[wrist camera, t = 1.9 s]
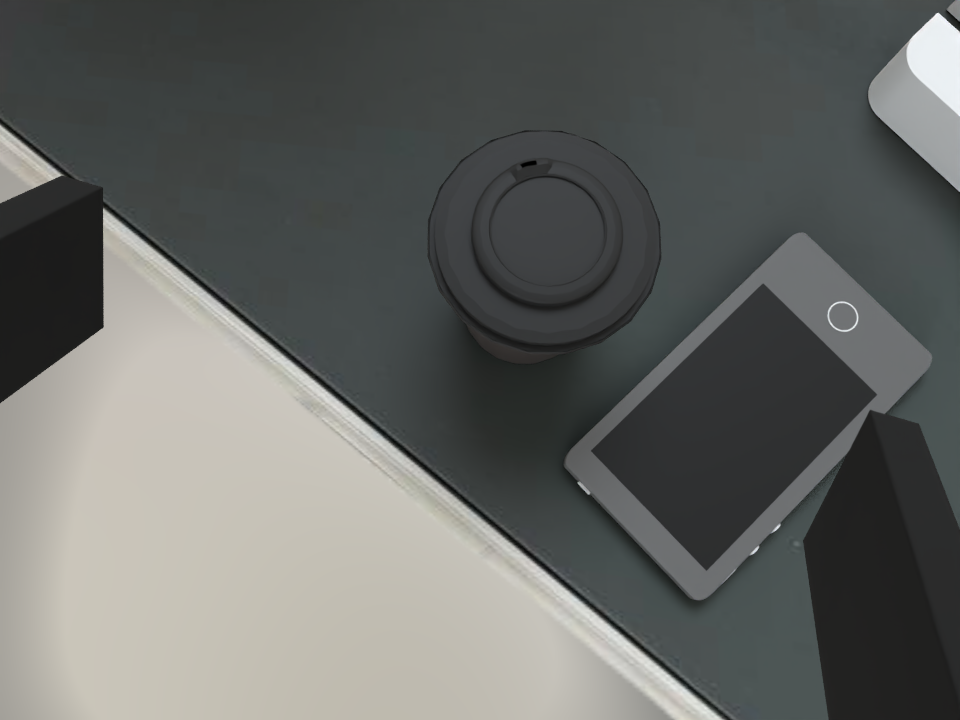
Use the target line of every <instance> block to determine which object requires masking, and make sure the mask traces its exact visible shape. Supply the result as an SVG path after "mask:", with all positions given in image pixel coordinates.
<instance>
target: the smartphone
mask: <svg viewBox="0 0 960 720" xmlns="http://www.w3.org/2000/svg"><path fill="white" fill-rule="evenodd" d="M931 362H932V355H931V353H930V352H929V351H928V350H927V349H926V348H925V347H923V346H922V345H921V344H920V343H919V342H918V341H917V340H916V339H915V338H914V337H913V336H912V335H911V334H910V333H909V332H908V331H907V330H906V329H905V328H904V327H903V326H902V325H901V324H899V323H898V322H897V321H896V320H895V319H894V318H893V317H892V316H891V315H890V314H889V313H888V312H887V311H886V310H885V309H884V308H883V307H882V306H881V305H880V304H879V303H878V302H877V301H875V300H874V299H873V298H872V297H871V296H870V295H869V294H868V293H867V292H866V291H865V290H864V289H863V288H862V287H861V286H860V285H859V284H858V283H857V282H856V281H855V280H854V279H853V278H852V277H850V276H849V275H848V274H847V273H846V272H845V271H844V270H843V269H842V268H841V267H840V266H839V265H838V264H837V263H836V262H835V261H834V260H833V259H832V258H831V257H830V256H829V255H828V254H826V253H825V252H824V251H823V250H822V249H821V248H820V247H819V246H818V245H817V244H816V243H815V242H814V241H813V240H812V239H811V238H810V237H809V236H808V235H807V234H805V233H797V234H795V235H793V236H791V237H790V238H789V239H788V240H787V241H786V242H784V243H783V244H782V245H781V246H780V247H779V248H778V249H777V250H776V251H775V252H774V253H773V254H772V255H771V256H770V257H769V258H768V259H767V260H766V261H765V262H764V263H763V264H762V265H760V266H759V267H758V268H757V269H756V270H755V271H754V272H753V273H752V274H751V275H750V276H749V277H748V278H747V279H746V280H745V281H744V282H743V283H742V284H741V285H740V286H739V287H738V288H737V289H736V290H735V291H734V292H733V293H732V294H731V295H729V296H728V297H727V298H726V299H725V300H724V301H723V302H722V303H721V304H720V305H719V306H718V307H717V308H716V309H715V310H714V311H713V312H712V313H711V314H710V315H709V316H708V317H707V318H706V319H705V320H704V321H703V322H702V323H701V324H699V325H698V326H697V327H696V328H695V329H694V330H693V331H692V332H691V333H690V334H689V335H688V336H687V337H686V338H685V339H684V340H683V341H682V342H681V343H680V344H679V345H678V346H677V347H676V348H675V349H674V350H673V351H672V352H671V353H670V354H668V355H667V356H666V357H665V358H664V359H663V360H662V361H661V362H660V363H659V364H658V365H657V366H656V367H655V368H654V369H653V370H652V371H651V372H650V373H649V374H648V375H647V376H646V377H645V378H644V379H643V380H642V381H641V382H640V383H639V384H637V385H636V386H635V387H634V388H633V389H632V390H631V391H630V392H629V393H628V394H627V395H626V396H625V397H624V398H623V399H622V400H621V401H620V402H619V403H618V404H617V405H616V406H615V407H614V408H613V409H612V410H611V411H610V412H609V413H608V414H606V415H605V416H604V417H603V418H602V419H601V420H600V421H599V422H598V423H597V424H596V425H595V426H594V427H593V428H592V429H591V430H590V431H589V432H588V433H587V434H586V435H585V436H584V437H583V438H582V439H581V440H580V441H579V442H578V443H576V444H575V445H574V446H573V447H572V448H571V449H570V450H569V452H568V453H567V454H566V456H565V458H564V463H563V464H564V467H565V468H566V469H567V470H568V472H569V473H570V474H571V475H572V476H573V477H574V478H575V479H576V480H577V481H578V482H577V483H578V484H579V485H580V487H581V488H582V489H583V490H584V491H585V492H586V493H587V494H588V495H589V494H590V495H591V496H592V497H593V498H594V499H595V500H596V501H597V502H598V503H599V504H600V505H601V506H602V507H603V508H604V509H605V510H606V511H607V512H608V513H609V514H610V515H611V516H612V517H613V519H614V520H615V521H616V522H617V523H618V524H619V525H620V526H621V527H622V528H623V529H624V530H625V531H626V532H627V533H628V534H629V535H630V536H631V537H632V538H633V539H634V540H635V542H636V543H637V544H638V545H639V546H640V547H641V548H642V549H643V550H644V551H645V552H646V553H647V554H648V555H649V556H650V557H651V558H652V559H653V560H654V561H655V562H656V563H657V565H658V566H659V567H660V568H661V569H662V570H663V571H664V572H665V573H666V574H667V575H668V576H669V577H670V578H671V579H672V580H673V581H674V582H675V583H676V584H677V585H678V586H679V587H680V589H681V590H682V591H683V592H684V593H685V594H686V595H687V596H688V597H689V598H691V599H694V600H703V599H705V598H707V597H709V596H710V595H711V594H712V593H713V592H714V591H715V590H716V589H717V588H718V587H719V586H720V585H721V584H722V583H724V581H725V580H726V579H727V578H728V577H729V576H730V575H731V574H732V573H733V572H734V571H735V570H736V568H737V567H738V566H739V565H740V564H741V563H742V562H743V561H744V560H745V559H746V558H747V557H748V556H749V555H752V554H754V553H755V552H756V551H757V550H758V548H759V546H758V545H759V544H760V543H761V542H762V541H763V540H764V539H765V538H766V537H767V536H768V535H769V534H770V533H773V532H774V531H776V530H777V529H778V528H779V527H780V525H781V524H780V522H781V521H782V520H783V519H784V518H785V517H786V516H787V515H788V514H789V513H790V512H791V511H792V510H793V509H794V508H795V507H796V506H797V505H798V504H799V503H800V502H801V501H802V500H803V499H804V497H805V496H806V495H807V494H808V493H809V492H810V491H811V490H812V489H813V488H814V487H815V486H816V485H817V484H818V483H819V482H820V481H821V480H822V479H823V478H824V477H825V476H826V475H827V474H828V473H829V471H830V470H831V469H832V468H833V467H834V466H835V465H836V464H837V463H838V462H839V461H840V460H841V459H842V458H843V457H844V456H845V455H846V454H847V453H848V452H849V450H850V448H851V446H852V444H853V442H854V440H855V438H856V436H857V434H858V432H859V430H860V428H861V426H862V424H863V422H864V420H865V418H866V416H867V415H868V413H869V411H870V410H873V411H876V412H879V413H883V414H885V413H886V412H887V411H888V410H889V409H890V408H891V407H892V406H893V405H894V404H895V403H896V402H897V401H898V400H899V399H900V398H901V397H902V396H903V394H904V393H905V392H906V391H907V390H908V389H909V388H910V387H911V386H912V385H913V384H914V383H915V382H916V381H917V380H918V379H919V378H920V377H921V376H922V375H923V374H924V373H925V372H926V371H927V369H928V368H929V366H930V365H931Z"/></svg>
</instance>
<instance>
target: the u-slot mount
mask: <svg viewBox="0 0 960 720" xmlns="http://www.w3.org/2000/svg"><path fill="white" fill-rule="evenodd" d="M946 10H947V11H948V12H950V13H951V14H952V15H953V16H954V17H955V18H956V19H957V20H958V21H960V0H955V1H954V2H953V3H952V4H951V5H950V6H949V7H948V8H947V9H946ZM868 99H869V103H870V106H871V108H872V110H873V111H874V113H875V114H876V115H877V116H878V117H879V118H880V119H881V120H882V121H883V122H884V123H885V124H887V125H888V126H889V127H890V128H891V129H892V130H893V131H894V132H895V133H896V134H897V135H898V136H900V137H901V138H902V139H903V140H904V141H905V142H906V143H907V144H908V145H909V146H910V147H911V148H913V149H914V150H915V151H916V152H917V153H918V154H919V155H920V156H921V157H922V158H923V159H924V160H926V161H927V162H928V163H929V164H930V165H931V166H932V167H933V168H934V169H935V170H936V171H937V172H938V173H940V174H941V175H942V176H943V177H944V178H945V179H946V180H947V181H948V182H949V183H950V184H951V185H953V186H954V187H955V188H956V189H957V190H958V191H959V192H960V32H959V31H958V30H957V29H956V28H955V27H953V26H952V25H951V24H950V23H949V22H948V21H947V20H946V19H944V18H943V17H942V16H941V15H940V14H939V13H937V14H936V15H935V16H934V17H933V18H932V19H931V20H930V21H929V22H928V23H926V24H925V25H924V26H923V27H922V28H921V29H920V30H919V31H918V32H917V33H916V34H915V35H914V36H913V37H912V38H911V39H910V40H909V41H908V42H907V44H906V45H905V46H904V47H903V48H902V49H901V50H900V51H899V52H898V53H897V54H896V55H895V56H894V58H893V59H892V60H891V61H890V62H889V63H888V64H887V65H886V66H885V67H884V68H883V69H882V71H881V72H880V73H879V74H878V75H877V76H876V77H875V78H874V79H873V81H872V82H871V84H870V87H869V91H868Z"/></svg>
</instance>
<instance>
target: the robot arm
mask: <svg viewBox="0 0 960 720" xmlns="http://www.w3.org/2000/svg"><path fill="white" fill-rule="evenodd" d="M103 327H104V325H103V187H99V186H96V185H92V184H89V183H85V182H82V181H79V180H75V179H72V178H68V177H65V176H60V177H58V178H55V179H53V180H51V181H49V182H47V183H44V184H42V185H40V186H38V187H36V188H33V189H31V190H29V191H27V192H25V193H22V194H20V195H18V196H16V197H14V198H11V199H9V200H7V201H5V202H2V203H0V403H1V402H2V401H4V400H5V399H6V398H8V397H9V396H10V395H12V394H13V393H15V392H16V391H17V390H19V389H20V388H21V387H23V386H24V385H26V384H27V383H28V382H29V381H31V380H32V379H34V378H35V377H36V376H38V375H39V374H41V373H42V372H43V371H44V370H46V369H47V368H49V367H50V366H51V365H53V364H54V363H55V362H57V361H58V360H60V359H61V358H62V357H64V356H65V355H66V354H68V353H69V352H70V351H72V350H73V349H75V348H76V347H77V346H79V345H80V344H81V343H83V342H84V341H85V340H87V339H88V338H89V337H91V336H92V335H94V334H95V333H96V332H98V331H99V330H100V329H102V328H103ZM803 543H804V550H805V557H806V564H807V571H808V578H809V585H810V592H811V599H812V606H813V613H814V620H815V627H816V634H817V641H818V648H819V655H820V662H821V669H822V676H823V683H824V690H825V697H826V704H827V711H828V718H829V720H960V529H959V526H958V524H957V521H956V519H955V516H954V513H953V511H952V508H951V506H950V503H949V501H948V498H947V495H946V493H945V490H944V488H943V485H942V483H941V480H940V477H939V475H938V472H937V470H936V467H935V464H934V462H933V459H932V457H931V454H930V452H929V449H928V446H927V444H926V441H925V439H924V436H923V434H922V431H921V428H920V426H919V424H917V423H914V422H911V421H907V420H904V419H900V418H897V417H893V416H890V415H886V414H883V413H879V412H876V411H873V410H870V411H869V413H868V415H867V416H866V418H865V420H864V422H863V424H862V426H861V428H860V430H859V432H858V434H857V436H856V438H855V440H854V442H853V444H852V446H851V448H850V450H849V452H848V454H847V456H846V458H845V460H844V462H843V464H842V466H841V468H840V470H839V471H838V473H837V475H836V477H835V479H834V481H833V483H832V485H831V487H830V489H829V491H828V493H827V495H826V497H825V499H824V501H823V503H822V505H821V507H820V509H819V511H818V513H817V515H816V517H815V519H814V521H813V523H812V525H811V526H810V528H809V530H808V532H807V534H806V536H805V538H804V540H803Z"/></svg>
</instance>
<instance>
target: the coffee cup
mask: <svg viewBox="0 0 960 720" xmlns="http://www.w3.org/2000/svg"><path fill="white" fill-rule="evenodd" d="M428 259H429V262H430V265H431V268H432V271H433V274H434V277H435V280H436V283H437V286H438V289H439V291H440V293H441V294H442V295H443V297H444V298H445V299H446V301H447V302H448V303H449V305H450V306H451V307H452V309H453V310H454V311H455V313H456V314H457V316H458V317H459V318H460V320H461V321H463V322H464V323H466V325H467V327H468V329H469V332H470V333H471V334H472V336H473V337H474V338H475V340H476V341H477V342H478V344H479V345H480V346H481V347H482V348H483V349H485V350H486V351H487V352H489V353H490V354H492V355H493V356H494V357H496V358H498V359H501V360H504V361H508V362H511V363H514V364H535V363H538V362H542V361H545V360H548V359H551V358H553V357H555V356H556V355H558V354H567V353H570V352H573V351H577V350H580V349H583V348H586V347H589V346H592V345H596V344H599V343H601V342H603V341H604V340H606V339H607V338H608V337H610V336H611V335H613V334H614V333H615V332H617V331H618V330H619V329H621V328H622V327H624V326H625V325H626V324H628V323H629V322H631V320H632V319H633V317H634V316H635V315H636V313H637V312H638V310H639V309H640V308H641V306H642V305H643V303H644V302H645V301H646V299H647V298H648V296H649V295H650V294H651V292H652V289H653V285H654V282H655V278H656V275H657V272H658V268H659V265H660V261H661V237H660V222H659V219H658V217H657V214H656V212H655V209H654V206H653V204H652V201H651V198H650V196H649V193H648V190H647V189H646V188H645V187H644V185H643V184H642V183H641V181H640V180H639V179H638V178H637V176H636V175H635V174H634V173H633V171H632V170H631V169H630V168H629V166H628V165H627V164H626V163H625V162H624V161H623V160H621V159H620V158H618V157H617V156H615V155H614V154H612V153H611V152H609V151H608V150H607V149H605V148H604V147H602V146H601V145H599V144H598V143H596V142H594V141H591V140H588V139H585V138H582V137H579V136H577V135H574V134H569V133H566V132H563V131H522V132H518V133H515V134H511V135H508V136H504V137H501V138H497V139H494V140H491V141H489V142H488V143H486V144H485V145H483V146H482V147H480V148H479V149H477V150H476V151H474V152H473V153H471V154H470V155H468V156H467V157H465V158H464V159H462V160H461V161H460V162H459V164H458V165H457V166H456V168H455V169H454V170H453V171H452V173H451V174H450V175H449V176H448V178H447V179H446V180H445V182H444V183H443V184H442V185H441V187H440V188H439V191H438V194H437V197H436V200H435V202H434V205H433V208H432V211H431V214H430V217H429V219H428Z"/></svg>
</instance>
